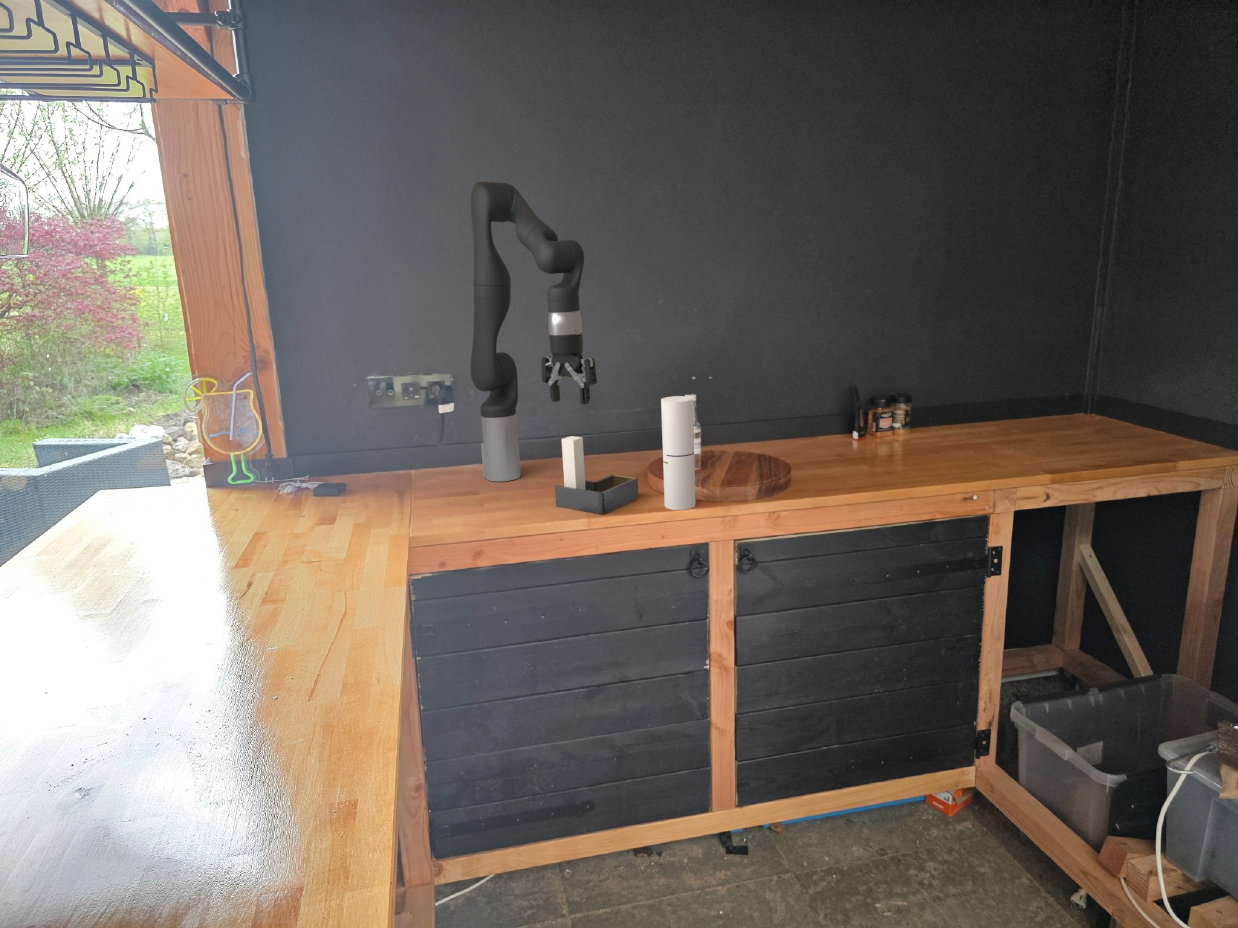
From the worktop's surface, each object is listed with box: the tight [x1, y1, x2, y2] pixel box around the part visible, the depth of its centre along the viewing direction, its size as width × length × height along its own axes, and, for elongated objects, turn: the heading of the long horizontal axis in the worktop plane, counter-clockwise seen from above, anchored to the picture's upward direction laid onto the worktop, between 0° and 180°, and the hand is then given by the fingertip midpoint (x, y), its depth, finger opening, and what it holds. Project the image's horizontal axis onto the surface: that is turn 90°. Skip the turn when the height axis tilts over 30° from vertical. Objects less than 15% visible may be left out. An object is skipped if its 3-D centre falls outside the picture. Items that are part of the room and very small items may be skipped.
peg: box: [561, 435, 586, 490], centre depth 198 cm, size 4×4×16 cm
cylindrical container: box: [660, 395, 696, 511], centre depth 192 cm, size 7×7×25 cm
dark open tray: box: [554, 474, 640, 516], centre depth 200 cm, size 14×14×5 cm
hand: (570, 402), depth 194 cm, fingers open, 8 cm apart
